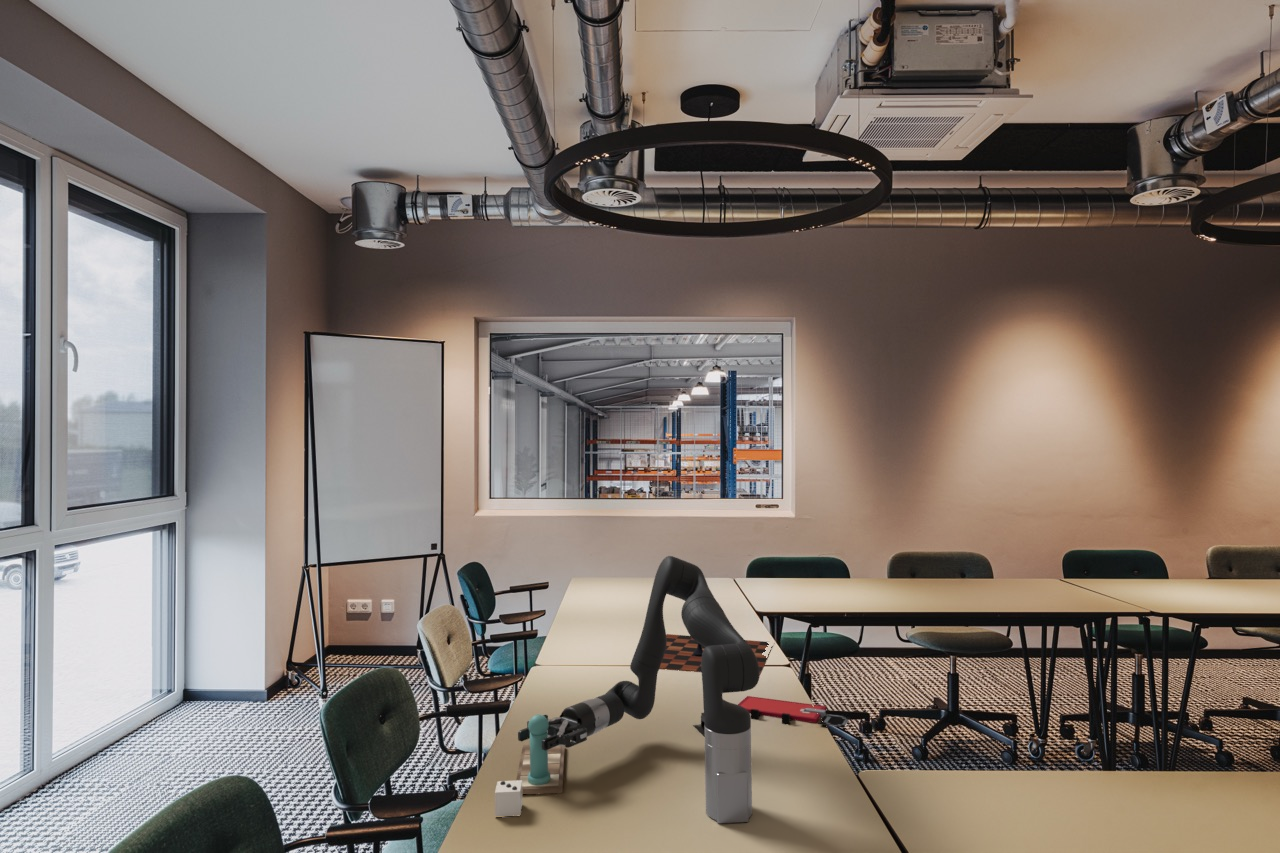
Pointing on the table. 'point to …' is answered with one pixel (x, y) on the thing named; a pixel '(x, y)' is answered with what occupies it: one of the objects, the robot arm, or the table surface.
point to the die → (508, 798)
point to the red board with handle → (791, 711)
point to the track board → (553, 767)
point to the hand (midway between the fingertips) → (530, 741)
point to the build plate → (701, 725)
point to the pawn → (538, 751)
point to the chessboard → (697, 653)
